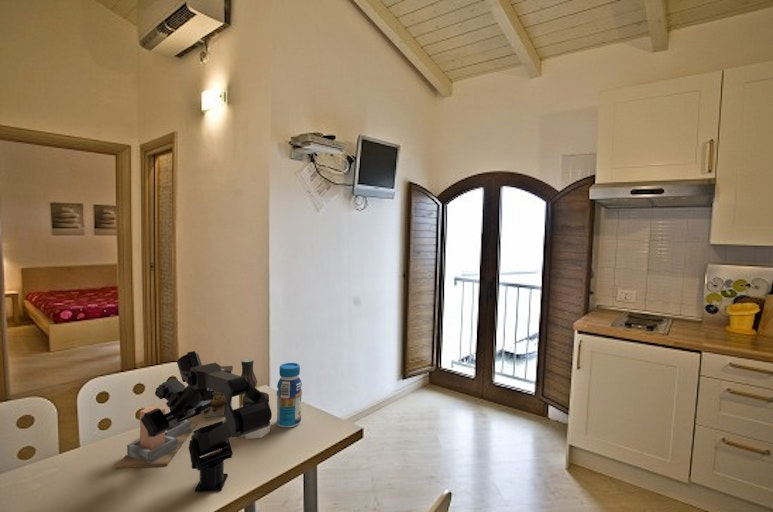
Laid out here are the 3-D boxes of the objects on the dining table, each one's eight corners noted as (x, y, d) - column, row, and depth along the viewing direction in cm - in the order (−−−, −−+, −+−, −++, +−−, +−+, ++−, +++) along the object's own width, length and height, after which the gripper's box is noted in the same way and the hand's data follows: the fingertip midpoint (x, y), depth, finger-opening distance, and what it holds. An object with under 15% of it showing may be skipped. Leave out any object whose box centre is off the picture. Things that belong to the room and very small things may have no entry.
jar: (273, 434, 126) (273, 398, 126) (248, 442, 121) (248, 404, 121) (262, 423, 133) (262, 389, 133) (238, 430, 128) (238, 395, 128)
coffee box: (202, 417, 137) (203, 372, 136) (206, 409, 143) (206, 366, 142) (230, 415, 139) (231, 370, 138) (232, 407, 145) (233, 364, 144)
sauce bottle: (261, 414, 140) (261, 359, 139) (247, 420, 135) (247, 364, 134) (249, 409, 144) (249, 356, 143) (234, 415, 138) (235, 360, 137)
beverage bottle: (272, 421, 135) (272, 364, 134) (294, 414, 140) (294, 360, 139) (283, 431, 129) (284, 371, 128) (306, 423, 134) (307, 366, 133)
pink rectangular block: (165, 450, 114) (164, 408, 114) (152, 457, 111) (152, 414, 110) (153, 446, 116) (153, 405, 116) (140, 453, 113) (140, 410, 112)
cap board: (167, 465, 108) (167, 453, 108) (116, 468, 106) (116, 455, 106) (197, 424, 132) (197, 413, 132) (155, 425, 130) (155, 415, 130)
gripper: (203, 362, 117) (177, 393, 122) (145, 383, 100) (116, 418, 104) (224, 392, 115) (196, 422, 119) (168, 419, 97) (137, 453, 102)
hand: (163, 428), depth 111 cm, fingers open, 9 cm apart
